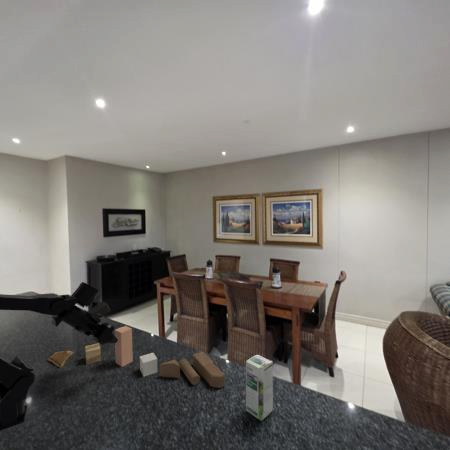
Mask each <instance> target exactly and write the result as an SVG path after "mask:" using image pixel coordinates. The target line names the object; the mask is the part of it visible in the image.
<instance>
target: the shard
mask: <svg viewBox="0 0 450 450" xmlns="http://www.w3.org/2000/svg"><path fill="white" fill-rule="evenodd" d="M72 355H73V351H71V350H63V351H61V350H60V351H55V352H54V354H53V355H51V356H50V357H48V358H47V361H48V362H52V364H53V365H55V366H56V367H59V368H60V369H61V368H63V366H64V365H65V363H66V361H67V360H68V359H69V358H70V357H71V356H72Z"/></svg>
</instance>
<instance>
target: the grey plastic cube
mask: <svg viewBox="0 0 450 450" xmlns="http://www.w3.org/2000/svg"><path fill="white" fill-rule="evenodd" d="M139 371H140V372H141V375H142V376H143V377H148V376H149V375H153V374H155V373H158V372H159V371H158V358H157V356H156V355H155V353H154V352H151V353H147V354H144V355H140V356H139Z"/></svg>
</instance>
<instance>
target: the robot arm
mask: <svg viewBox="0 0 450 450" xmlns="http://www.w3.org/2000/svg"><path fill="white" fill-rule="evenodd" d="M99 293H100V291H99V289H97V288H96V287H94V286H92V285H89V284H88V283H87V282H84V281H82V282H81V283H80V284H79V285H78V287H77V288H76V289H75V290H74V292H72V294H71V295H70V294H58V293H54V292H51V293H42V294H41V293H40V294H35V295H19V294H18V295H17V294H3V293H2V294H1V293H0V311H28V312H29V311H30V312H34V313H38V314H41V315H48V316H51V324H52V325H54V327H58V326H59V325H60V324H61V323H64V324H66V325H68V326H69V327H71V328H73V329H74V331H75V330H76V331H77V332H79V333H81V334H83V335H86V336H87V337H89V336H92V337H93V341H95V342H96V343H99V344H100V345H102V346H103V345H106V344H115V343H117V341H118V339H117V338H116V337H115V333H113V332H114V331H115V330H116V329H115V327H116V326H114V325H112V324H111V323H108V322H106V321H105V322H103V323H101V322H102V319H101V318H103V317H104V316H105V315H106V314H107V313H110V311H111V308H110V306H109V305H108V303H107V302H104V301H97V302H96V301H94V300H95V298H96V297H97V296H98V295H99ZM77 305H78V306H77ZM79 306H80V307H79ZM81 307H82V308H85V307H86V308H87V307H89V308H88V309H89V310H88V311H86V310H83V309H82V308H81ZM100 323H101V324H100ZM33 371H34V368H33V367H32V366H31V365H30V363H28V362H27V361H25V360H21V359H20V358H19V357H18V356H17V355H15V357H14V358H13V359H12V360H11V359H7V358H4V357H3V356H1V355H0V430H2V429H5V428H8V427H11V426H14V425H16V424H19V423H22V422H24V421H25V420H26V416H27V412H28V405H25V399H26V398H27V396H28V392H29V390H30V388H31V387H32V385H33V384H34V382H35V377H36V375H35V373H34V372H33Z"/></svg>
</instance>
